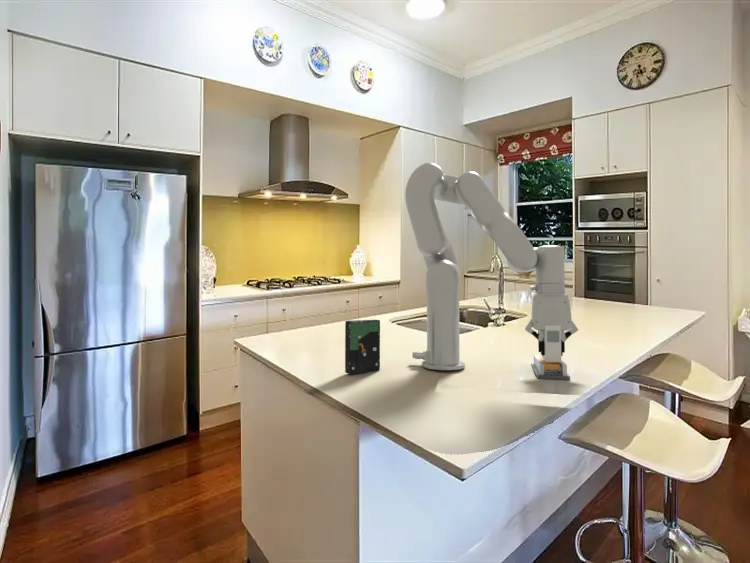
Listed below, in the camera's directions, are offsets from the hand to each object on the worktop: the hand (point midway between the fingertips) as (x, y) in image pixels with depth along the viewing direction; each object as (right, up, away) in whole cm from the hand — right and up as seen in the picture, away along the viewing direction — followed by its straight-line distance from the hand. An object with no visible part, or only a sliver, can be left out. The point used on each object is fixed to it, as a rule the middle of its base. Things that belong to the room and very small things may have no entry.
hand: (551, 354), depth 124 cm
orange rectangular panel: (-1, -3, 0) cm, 3 cm away
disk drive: (-53, -6, +3) cm, 53 cm away
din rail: (-1, -5, 0) cm, 5 cm away
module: (0, -1, 0) cm, 1 cm away
